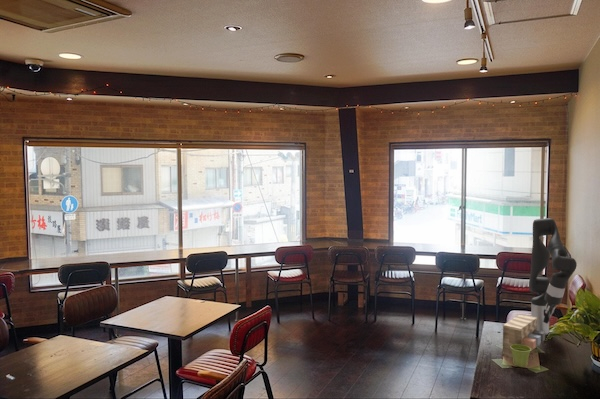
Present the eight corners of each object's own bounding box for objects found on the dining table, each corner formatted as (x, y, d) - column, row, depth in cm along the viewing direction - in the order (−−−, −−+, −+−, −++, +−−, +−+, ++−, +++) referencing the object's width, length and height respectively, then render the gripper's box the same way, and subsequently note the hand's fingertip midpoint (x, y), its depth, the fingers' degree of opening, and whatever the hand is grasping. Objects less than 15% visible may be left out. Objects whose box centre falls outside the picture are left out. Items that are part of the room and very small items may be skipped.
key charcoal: (533, 336, 256) (533, 329, 256) (545, 339, 252) (545, 332, 252) (530, 338, 254) (530, 331, 253) (542, 341, 249) (542, 334, 249)
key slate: (528, 340, 251) (528, 333, 251) (540, 343, 247) (540, 335, 247) (525, 342, 248) (526, 335, 248) (538, 345, 244) (538, 337, 244)
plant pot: (534, 368, 230) (534, 351, 229) (514, 368, 230) (515, 351, 230) (525, 361, 239) (525, 344, 239) (506, 361, 239) (507, 344, 239)
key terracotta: (523, 344, 246) (523, 336, 245) (535, 347, 241) (536, 339, 241) (520, 346, 243) (521, 338, 242) (533, 349, 239) (533, 341, 238)
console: (519, 342, 264) (519, 314, 264) (536, 346, 258) (537, 317, 257) (502, 355, 246) (503, 325, 245) (520, 360, 240) (521, 328, 239)
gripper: (551, 285, 244) (542, 314, 250) (542, 294, 235) (533, 323, 241) (567, 292, 239) (557, 321, 245) (558, 300, 230) (549, 330, 236)
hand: (545, 322), depth 243 cm, fingers closed
